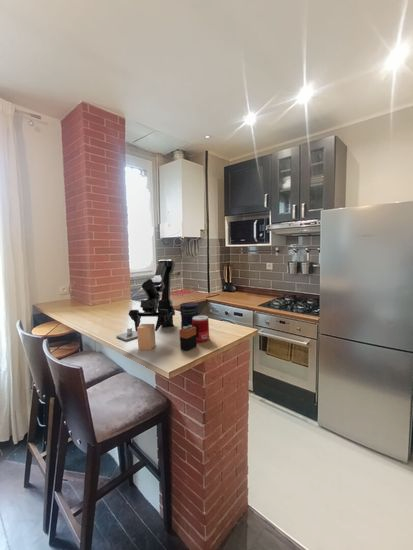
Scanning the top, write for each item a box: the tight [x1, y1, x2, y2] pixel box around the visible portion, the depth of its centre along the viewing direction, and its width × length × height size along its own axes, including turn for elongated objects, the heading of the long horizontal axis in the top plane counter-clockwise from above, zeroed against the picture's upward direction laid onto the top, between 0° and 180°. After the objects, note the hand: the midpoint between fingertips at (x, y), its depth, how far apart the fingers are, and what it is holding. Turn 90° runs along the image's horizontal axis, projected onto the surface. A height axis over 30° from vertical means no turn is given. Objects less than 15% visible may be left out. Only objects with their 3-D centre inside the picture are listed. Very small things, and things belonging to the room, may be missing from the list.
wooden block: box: [137, 323, 157, 351], centre depth 118 cm, size 6×6×10 cm
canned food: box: [192, 314, 210, 343], centre depth 124 cm, size 8×8×11 cm
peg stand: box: [115, 327, 138, 342], centre depth 134 cm, size 10×10×4 cm
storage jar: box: [179, 301, 200, 329], centre depth 137 cm, size 10×10×15 cm
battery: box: [178, 325, 198, 352], centre depth 115 cm, size 4×7×10 cm, turn 143°
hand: (145, 331), depth 117 cm, fingers open, 9 cm apart
